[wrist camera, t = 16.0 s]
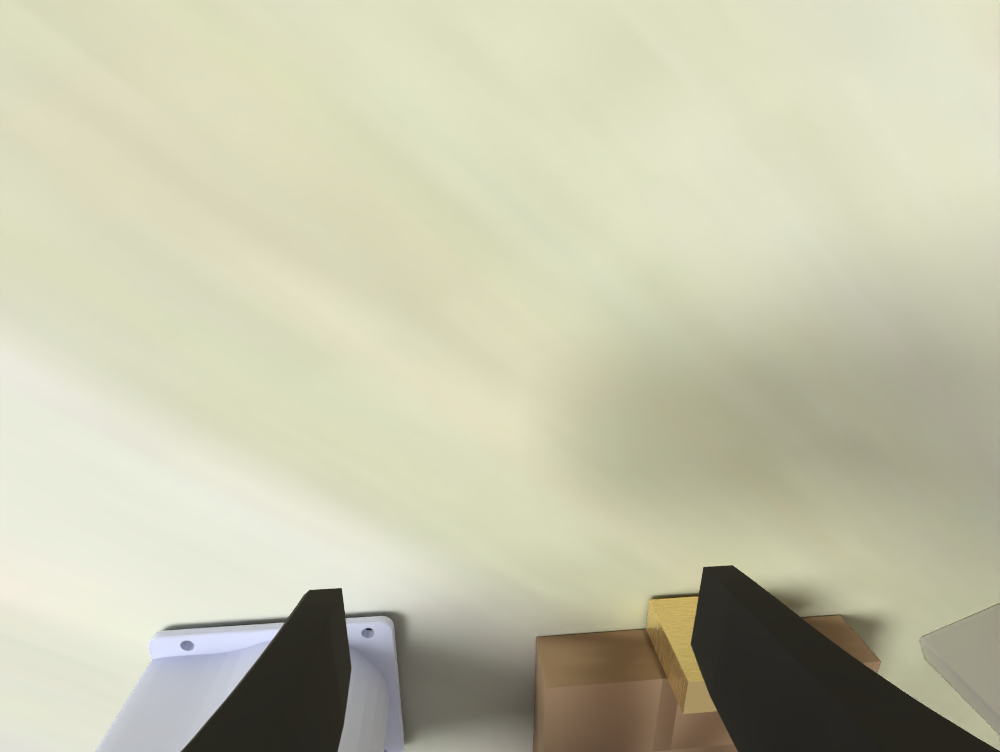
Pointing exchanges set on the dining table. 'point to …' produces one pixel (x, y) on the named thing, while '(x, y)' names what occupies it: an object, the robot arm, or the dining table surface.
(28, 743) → the dining table surface
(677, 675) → the light wooden block
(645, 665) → the socket block
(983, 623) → the lighter
